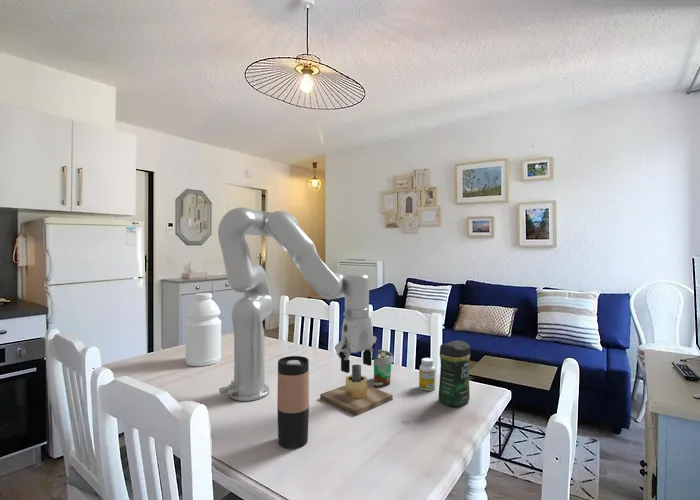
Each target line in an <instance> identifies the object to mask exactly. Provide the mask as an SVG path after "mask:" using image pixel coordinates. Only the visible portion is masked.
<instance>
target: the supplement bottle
mask: <svg viewBox="0 0 700 500" xmlns="http://www.w3.org/2000/svg"><path fill="white" fill-rule="evenodd" d="M434 360H435V359H433V358H431V357H424V358H422V359H421V364H420V365H419V370H418V371H419V373H418V374H419V377H418V379H419V380H418V382H419V383H418V384H419V389H421V390H423V391H428V392H429V391H430V392H431V391H434V390H435V389H436V386H437V385H436V378H437V377H436V374H437V373H436V372H437V369H436V365H435V366H434V363H435V362H434Z"/></svg>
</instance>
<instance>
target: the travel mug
mask: <svg viewBox="0 0 700 500" xmlns="http://www.w3.org/2000/svg"><path fill="white" fill-rule="evenodd" d="M309 363H310V361H309V359H308V357H305V356H300V355H291V356H285V357H284V356H283V357H281V358H279V359H278V361H277V398H276V399H277V406H276V407H277V411H276V412H277V436H278V437H277V439H278V445H279V446H280V447H281V448H283V449H288V450H296V449H300V448H302V447H304V446H306V444H308V439H309V438H308V437H309V417H310V416H309V414H310V413H309V412H310V392H309V391H310V389H309V388H310V385H309V384H310V381H309V380H310V379H309V378H310V377H309V374H310V370H309V369H310V368H309V366H310V365H309Z"/></svg>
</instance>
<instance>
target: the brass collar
mask: <svg viewBox="0 0 700 500" xmlns="http://www.w3.org/2000/svg"><path fill="white" fill-rule="evenodd" d="M345 385H346V397H349V398H351V399H362V398H364V397H367V385H368V378H367V376H365V375H362V374H361V381H352V374H350V375H348V376H345Z"/></svg>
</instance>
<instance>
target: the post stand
mask: <svg viewBox="0 0 700 500" xmlns="http://www.w3.org/2000/svg"><path fill="white" fill-rule="evenodd" d="M351 375H352V381H361V375H362V365H360V364H352V365H351ZM319 396H320V397H319V399H320V400H322V401H324V402H327V403H328V404H330V405H333V406H334V407H337V408H338V409H340V410H344V411H345V412H348V413H350V414H352V415H354V416H355V417H357V416H360V415H361V414H363V413H366V412H368V411H370V410H372V409H375V408H377V407H379V406H382V405H384V404H386V403H389V402H391V401H392V400H394V399H393V394H392V393H389V392H386V391H384V390H381V389H378V388H377V387H374V386H370V385H368V384H367V397H364V398H362V399H351V398H349V397H346V384H345V385H342V386H339V387H336V388H334V389H330V390H328V391H325V392H323V393H320V394H319Z"/></svg>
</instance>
